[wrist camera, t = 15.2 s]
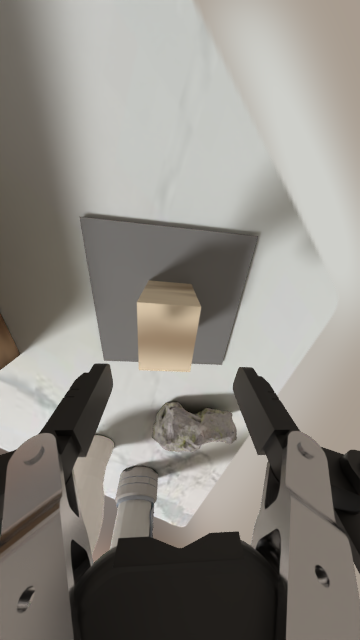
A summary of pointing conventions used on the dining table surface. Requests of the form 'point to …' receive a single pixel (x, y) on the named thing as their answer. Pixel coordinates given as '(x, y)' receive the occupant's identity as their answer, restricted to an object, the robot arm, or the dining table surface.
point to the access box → (6, 345)
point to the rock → (191, 428)
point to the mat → (164, 280)
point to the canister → (135, 503)
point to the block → (167, 326)
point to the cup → (93, 485)
